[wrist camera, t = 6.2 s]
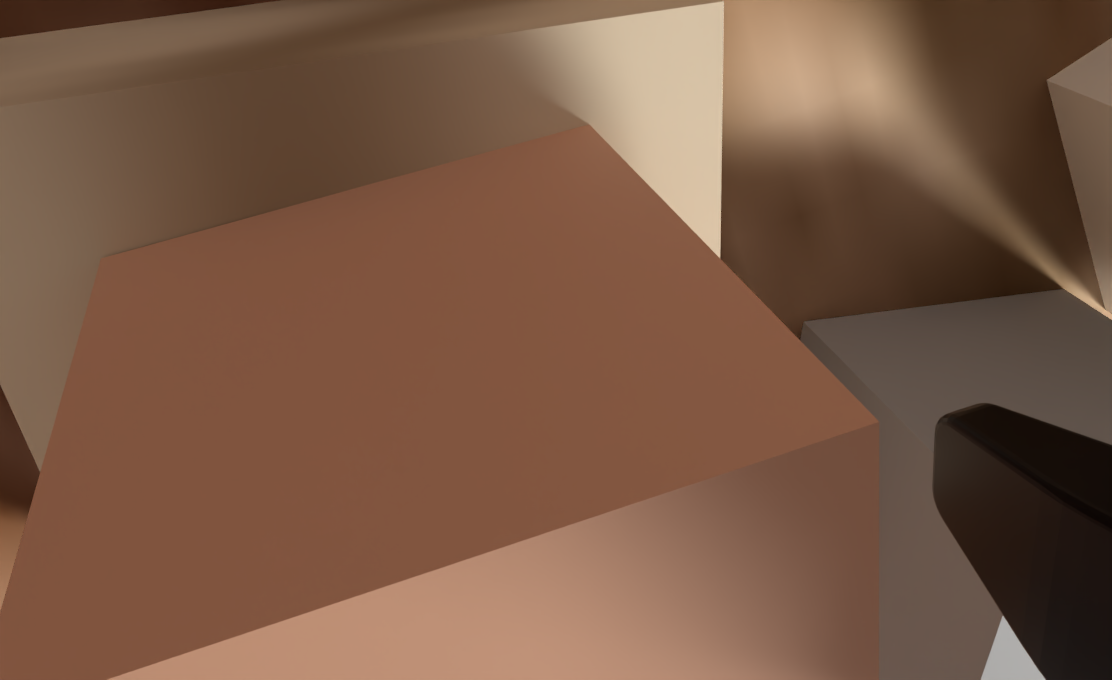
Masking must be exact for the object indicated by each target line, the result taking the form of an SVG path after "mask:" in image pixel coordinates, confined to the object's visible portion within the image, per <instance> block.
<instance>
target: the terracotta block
mask: <svg viewBox="0 0 1112 680" xmlns="http://www.w3.org/2000/svg"><path fill="white" fill-rule="evenodd" d="M0 680H879V421H878V420H877V419H876V418H875V417H874V416H873V415H872V414H871V413H870V412H869V411H868V410H867V409H866V408H865V406H864V405H863V404H862V403H861V402H860V401H859V400H858V399H857V398H856V397H855V396H854V395H853V394H852V393H851V392H850V391H849V390H848V389H847V388H846V387H845V386H844V385H843V384H842V383H841V382H840V381H839V380H838V379H837V378H836V377H835V376H834V375H833V374H832V373H831V372H830V371H829V370H828V369H827V368H826V366H825V365H824V364H823V363H822V362H821V361H820V360H819V359H818V358H817V357H816V356H815V355H814V354H813V353H812V352H811V351H810V350H809V349H808V348H807V347H806V346H805V345H804V344H803V343H802V342H801V341H800V340H799V339H798V338H797V337H796V336H795V335H794V334H793V333H792V332H791V331H790V330H789V329H788V328H787V326H786V325H785V324H784V323H783V322H782V321H781V320H780V319H779V318H778V317H777V316H776V315H775V314H774V313H773V312H772V311H771V310H770V309H769V308H768V307H767V306H766V305H765V304H764V303H763V302H762V301H761V300H760V299H759V298H758V297H757V296H756V295H755V294H754V293H753V292H752V291H751V290H750V289H749V288H748V286H747V285H746V284H745V283H744V282H743V281H742V280H741V279H740V278H739V277H738V276H737V275H736V274H735V273H734V272H733V271H732V270H731V269H730V268H729V267H728V266H727V265H726V264H725V263H724V262H723V261H722V260H721V259H720V258H719V257H718V256H717V255H716V254H715V253H714V252H713V251H712V250H711V249H710V248H709V246H708V245H707V244H706V243H705V242H704V241H703V240H702V239H701V238H700V237H699V236H698V235H697V234H696V233H695V232H694V231H693V230H692V229H691V228H690V227H689V226H688V225H687V224H686V223H685V222H684V221H683V220H682V219H681V218H680V217H679V216H678V215H677V214H676V213H675V212H674V211H673V210H672V209H671V208H670V206H669V205H668V204H667V203H666V202H665V201H664V200H663V199H662V198H661V197H660V196H659V195H658V194H657V193H656V192H655V191H654V190H653V189H652V188H651V187H650V186H649V185H648V184H647V183H646V182H645V181H644V180H643V179H642V178H641V177H640V176H639V175H638V174H637V173H636V172H635V171H634V170H633V169H632V168H631V166H630V165H629V164H628V163H627V162H626V161H625V160H624V159H623V158H622V157H621V156H620V155H619V154H618V153H617V152H616V151H615V150H614V149H613V148H612V147H611V146H610V145H609V144H608V143H607V142H606V141H605V140H604V139H603V138H602V137H601V136H600V135H599V134H598V133H597V132H596V131H595V130H594V129H593V128H592V126H591V125H590V124H589V125H585V126H581V127H578V128H574V129H570V130H567V131H563V132H559V133H556V134H552V135H548V136H545V137H541V138H537V139H534V140H530V141H526V142H523V143H519V144H515V145H512V146H508V147H504V148H501V149H497V150H493V151H490V152H486V153H482V154H479V155H475V156H471V157H468V158H464V159H460V160H457V161H453V162H449V163H446V164H442V165H438V166H435V167H431V168H427V169H424V170H420V171H416V172H413V173H409V174H405V175H402V176H398V177H394V178H391V179H387V180H383V181H380V182H376V183H372V184H369V185H365V186H361V187H358V188H354V189H350V190H347V191H343V192H340V193H336V194H332V195H329V196H325V197H321V198H318V199H314V200H311V201H307V202H303V203H300V204H296V205H292V206H289V207H285V208H282V209H278V210H274V211H271V212H267V213H264V214H260V215H256V216H253V217H249V218H245V219H242V220H238V221H235V222H231V223H227V224H224V225H220V226H217V227H213V228H209V229H206V230H202V231H198V232H195V233H191V234H188V235H184V236H180V237H177V238H173V239H169V240H166V241H162V242H159V243H155V244H151V245H148V246H144V247H141V248H137V249H133V250H130V251H126V252H122V253H119V254H115V255H112V256H108V257H104V258H101V260H100V264H99V267H98V271H97V274H96V278H95V281H94V285H93V288H92V292H91V295H90V299H89V302H88V306H87V309H86V313H85V317H84V320H83V324H82V327H81V331H80V334H79V338H78V341H77V345H76V348H75V352H74V355H73V359H72V362H71V366H70V369H69V373H68V376H67V380H66V383H65V387H64V390H63V394H62V397H61V401H60V404H59V408H58V411H57V415H56V419H55V422H54V426H53V429H52V433H51V436H50V440H49V443H48V447H47V450H46V454H45V457H44V461H43V464H42V468H41V471H40V475H39V478H38V482H37V485H36V489H35V492H34V496H33V499H32V503H31V506H30V510H29V513H28V517H27V520H26V524H25V528H24V531H23V535H22V538H21V542H20V545H19V549H18V552H17V556H16V559H15V563H14V566H13V570H12V573H11V577H10V580H9V584H8V587H7V591H6V594H5V598H4V601H3V605H2V608H1V612H0Z"/></svg>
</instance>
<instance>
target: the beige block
mask: <svg viewBox="0 0 1112 680" xmlns="http://www.w3.org/2000/svg"><path fill="white" fill-rule="evenodd" d="M723 35H724V1H723V0H280V1H273V2H265V3H258V4H251V5H243V6H236V7H228V8H221V9H213V10H206V11H199V12H191V13H184V14H176V15H169V16H162V17H154V18H147V19H139V20H132V21H124V22H117V23H110V24H102V25H95V26H87V27H80V28H72V29H65V30H58V31H50V32H43V33H35V34H28V35H20V36H13V37H6V38H0V385H1V388H2V390H3V392H4V394H5V396H6V399H7V401H8V403H9V405H10V407H11V410H12V412H13V414H14V416H15V418H16V421H17V423H18V425H19V427H20V429H21V432H22V434H23V436H24V438H25V440H26V443H27V445H28V447H29V449H30V451H31V454H32V456H33V458H34V460H35V462H36V465H37V467H38V469H39V471H41V468H42V464H43V461H44V457H45V454H46V450H47V447H48V443H49V440H50V436H51V433H52V429H53V426H54V422H55V419H56V415H57V411H58V408H59V404H60V401H61V397H62V394H63V390H64V387H65V383H66V380H67V376H68V373H69V369H70V366H71V362H72V359H73V355H74V352H75V348H76V345H77V341H78V338H79V334H80V331H81V327H82V324H83V320H84V317H85V313H86V309H87V306H88V302H89V299H90V295H91V292H92V288H93V285H94V281H95V278H96V274H97V271H98V267H99V264H100V260H101V258H104V257H108V256H112V255H115V254H119V253H122V252H126V251H130V250H133V249H137V248H141V247H144V246H148V245H151V244H155V243H159V242H162V241H166V240H169V239H173V238H177V237H180V236H184V235H188V234H191V233H195V232H198V231H202V230H206V229H209V228H213V227H217V226H220V225H224V224H227V223H231V222H235V221H238V220H242V219H245V218H249V217H253V216H256V215H260V214H264V213H267V212H271V211H274V210H278V209H282V208H285V207H289V206H292V205H296V204H300V203H303V202H307V201H311V200H314V199H318V198H321V197H325V196H329V195H332V194H336V193H340V192H343V191H347V190H350V189H354V188H358V187H361V186H365V185H369V184H372V183H376V182H380V181H383V180H387V179H391V178H394V177H398V176H402V175H405V174H409V173H413V172H416V171H420V170H424V169H427V168H431V167H435V166H438V165H442V164H446V163H449V162H453V161H457V160H460V159H464V158H468V157H471V156H475V155H479V154H482V153H486V152H490V151H493V150H497V149H501V148H504V147H508V146H512V145H515V144H519V143H523V142H526V141H530V140H534V139H537V138H541V137H545V136H548V135H552V134H556V133H559V132H563V131H567V130H570V129H574V128H578V127H581V126H585V125H589V124H590V125H591V126H592V128H593V129H594V130H595V131H596V132H597V133H598V134H599V135H600V136H601V137H602V138H603V139H604V140H605V141H606V142H607V143H608V144H609V145H610V146H611V147H612V148H613V149H614V150H615V151H616V152H617V153H618V154H619V155H620V156H621V157H622V158H623V159H624V160H625V161H626V162H627V163H628V164H629V165H630V166H631V168H632V169H633V170H634V171H635V172H636V173H637V174H638V175H639V176H640V177H641V178H642V179H643V180H644V181H645V182H646V183H647V184H648V185H649V186H650V187H651V188H652V189H653V190H654V191H655V192H656V193H657V194H658V195H659V196H660V197H661V198H662V199H663V200H664V201H665V202H666V203H667V204H668V205H669V206H670V208H671V209H672V210H673V211H674V212H675V213H676V214H677V215H678V216H679V217H680V218H681V219H682V220H683V221H684V222H685V223H686V224H687V225H688V226H689V227H690V228H691V229H692V230H693V231H694V232H695V233H696V234H697V235H698V236H699V237H700V238H701V239H702V240H703V241H704V242H705V243H706V244H707V245H708V246H709V248H710V249H711V250H712V251H713V252H714V253H715V254H716V255H717V256H718V257H719V258H720V246H721V175H722V105H723Z"/></svg>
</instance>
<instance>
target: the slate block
mask: <svg viewBox="0 0 1112 680" xmlns="http://www.w3.org/2000/svg"><path fill="white" fill-rule="evenodd" d="M800 341H801V342H802V343H803V344H804V345H805V346H806V347H807V348H808V349H809V350H810V351H811V352H812V353H813V354H814V355H815V356H816V357H817V358H818V359H819V360H820V361H821V362H822V363H823V364H824V365H825V366H826V368H827V369H828V370H829V371H830V372H831V373H832V374H833V375H834V376H835V377H836V378H837V379H838V380H839V381H840V382H841V383H842V384H843V385H844V386H845V387H846V388H847V389H848V390H849V391H850V392H851V393H852V394H853V395H854V396H855V397H856V398H857V399H858V400H859V401H860V402H861V403H862V404H863V405H864V406H865V408H866V409H867V410H868V411H869V412H870V413H871V414H872V415H873V416H874V417H875V418H876V419H877V420H878V421H879V680H1046V679H1045V678H1044V677H1043V675H1042V674H1041V673H1040V671H1039V670H1038V669H1037V667H1036V666H1035V664H1034V663H1033V661H1032V660H1031V658H1030V657H1029V655H1028V654H1027V652H1026V651H1025V649H1024V648H1023V646H1022V645H1021V643H1020V642H1019V640H1018V638H1017V637H1016V635H1015V634H1014V632H1013V630H1012V629H1011V627H1010V626H1009V624H1008V622H1007V621H1006V619H1005V618H1004V616H1003V615H1002V613H1001V611H1000V610H999V608H998V607H997V605H996V603H995V602H994V600H993V599H992V597H991V596H990V594H989V592H988V591H987V589H986V588H985V586H984V584H983V583H982V581H981V580H980V578H979V577H978V575H977V573H976V572H975V570H974V569H973V567H972V565H971V564H970V562H969V561H968V559H967V558H966V556H965V554H964V553H963V551H962V550H961V548H960V546H959V545H958V543H957V542H956V540H955V539H954V537H953V535H952V534H951V532H950V531H949V529H948V527H947V526H946V524H945V523H944V521H943V519H942V518H941V516H940V514H939V512H938V510H937V507H936V505H935V501H934V498H933V492H932V479H933V457H934V436H935V427H936V424H937V422H938V420H939V419H940V417H942V416H943V415H945V414H947V413H950V412H953V411H956V410H959V409H962V408H966V407H969V406H972V405H975V404H978V403H991V404H995V405H998V406H1001V407H1004V408H1007V409H1010V410H1013V411H1015V412H1018V413H1021V414H1024V415H1027V416H1030V417H1033V418H1036V419H1039V420H1042V421H1044V422H1047V423H1050V424H1053V425H1056V426H1059V427H1062V428H1065V429H1068V430H1071V431H1073V432H1076V433H1079V434H1082V435H1085V436H1088V437H1091V438H1094V439H1097V440H1099V441H1102V442H1105V443H1108V444H1111V445H1112V320H1111V319H1109V318H1108V317H1106V316H1105V315H1103V314H1101V313H1100V312H1098V311H1097V310H1095V309H1094V308H1092V307H1091V306H1089V305H1088V304H1086V303H1085V302H1083V301H1082V300H1080V299H1078V298H1077V297H1075V296H1074V295H1072V294H1071V293H1069V292H1068V291H1066V290H1065V289H1059V290H1051V291H1043V292H1035V293H1027V294H1019V295H1011V296H1003V297H995V298H987V299H979V300H971V301H963V302H955V303H947V304H939V305H931V306H923V307H915V308H907V309H899V310H891V311H883V312H875V313H867V314H859V315H851V316H843V317H835V318H827V319H820V320H812V321H804V322H803V327H802V333H801V339H800Z"/></svg>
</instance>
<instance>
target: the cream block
mask: <svg viewBox="0 0 1112 680" xmlns="http://www.w3.org/2000/svg"><path fill="white" fill-rule="evenodd" d="M1047 84H1048V88H1049V92H1050V96H1051V100H1052V104H1053V108H1054V112H1055V115H1056V119H1057V123H1058V127H1059V131H1060V135H1061V139H1062V143H1063V147H1064V151H1065V155H1066V158H1067V162H1068V166H1069V170H1070V174H1071V178H1072V182H1073V186H1074V190H1075V194H1076V198H1077V201H1078V205H1079V209H1080V213H1081V217H1082V221H1083V225H1084V229H1085V233H1086V237H1087V241H1088V244H1089V248H1090V252H1091V256H1092V260H1093V264H1094V268H1095V272H1096V276H1097V280H1098V283H1099V287H1100V291H1101V295H1102V299H1103V303H1104V307H1105V310H1107V311H1108V312H1110V313H1111V314H1112V38H1110V39H1109V40H1107V41H1106V42H1104V43H1103V44H1101V45H1100V46H1098V47H1097V48H1095V49H1094V50H1092V51H1090V52H1089V53H1087V54H1086V55H1084V56H1083V57H1081V58H1080V59H1078V60H1077V61H1075V62H1074V63H1072V64H1071V65H1069V66H1068V67H1066V68H1064V69H1063V70H1061V71H1060V72H1058V73H1057V74H1055V75H1054V76H1052V77H1051V78H1049V79H1048V80H1047Z"/></svg>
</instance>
